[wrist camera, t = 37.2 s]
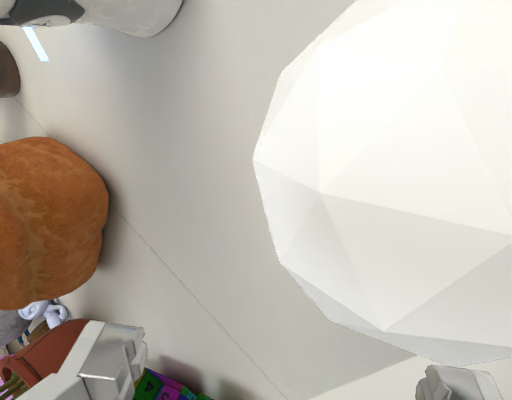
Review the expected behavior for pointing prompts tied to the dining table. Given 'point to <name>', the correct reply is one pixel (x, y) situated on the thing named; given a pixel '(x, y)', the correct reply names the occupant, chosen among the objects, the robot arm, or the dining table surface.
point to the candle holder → (3, 351)
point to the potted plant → (39, 358)
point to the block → (162, 388)
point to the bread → (47, 221)
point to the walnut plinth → (8, 74)
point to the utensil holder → (38, 331)
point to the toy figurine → (44, 312)
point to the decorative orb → (11, 326)
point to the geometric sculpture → (399, 175)
